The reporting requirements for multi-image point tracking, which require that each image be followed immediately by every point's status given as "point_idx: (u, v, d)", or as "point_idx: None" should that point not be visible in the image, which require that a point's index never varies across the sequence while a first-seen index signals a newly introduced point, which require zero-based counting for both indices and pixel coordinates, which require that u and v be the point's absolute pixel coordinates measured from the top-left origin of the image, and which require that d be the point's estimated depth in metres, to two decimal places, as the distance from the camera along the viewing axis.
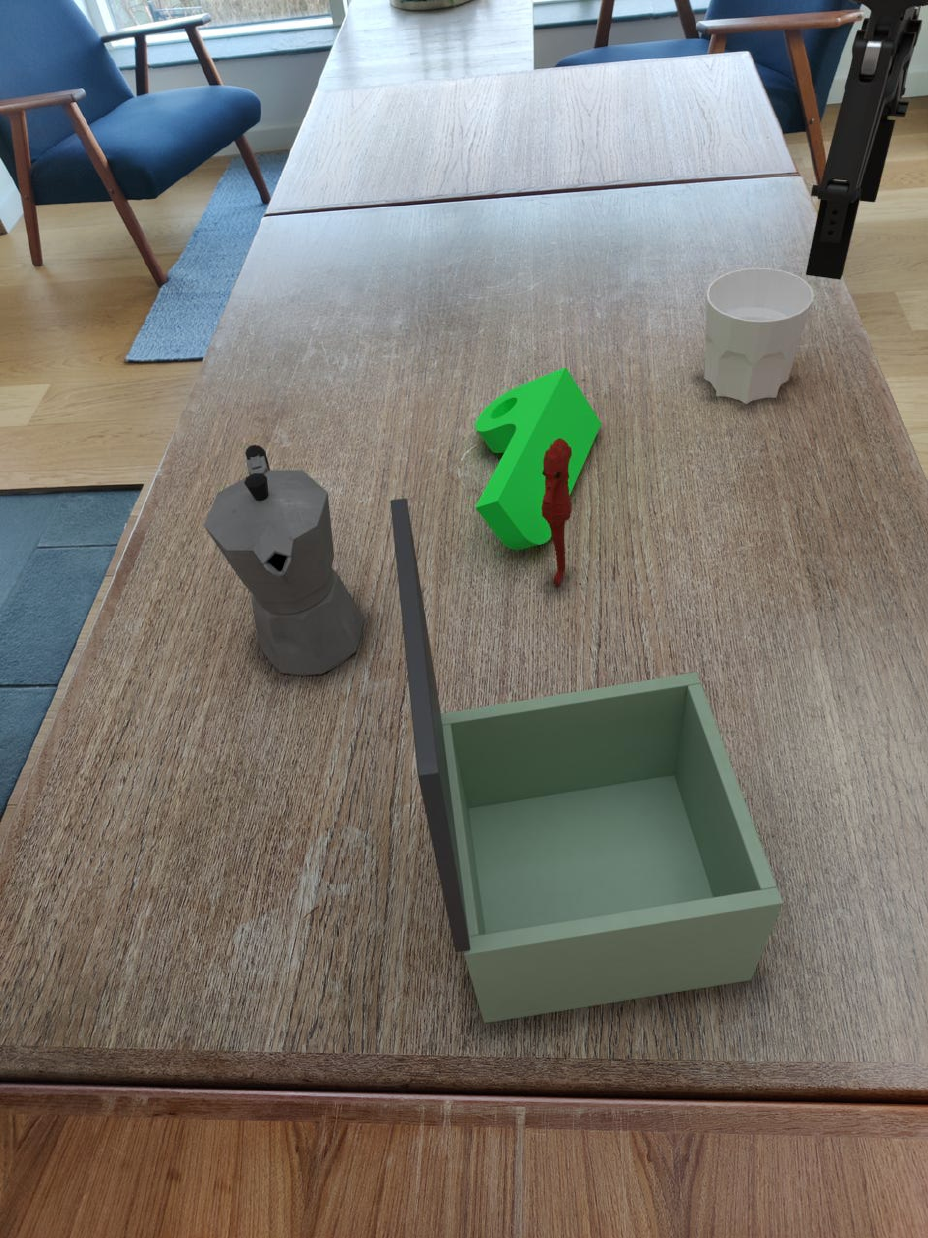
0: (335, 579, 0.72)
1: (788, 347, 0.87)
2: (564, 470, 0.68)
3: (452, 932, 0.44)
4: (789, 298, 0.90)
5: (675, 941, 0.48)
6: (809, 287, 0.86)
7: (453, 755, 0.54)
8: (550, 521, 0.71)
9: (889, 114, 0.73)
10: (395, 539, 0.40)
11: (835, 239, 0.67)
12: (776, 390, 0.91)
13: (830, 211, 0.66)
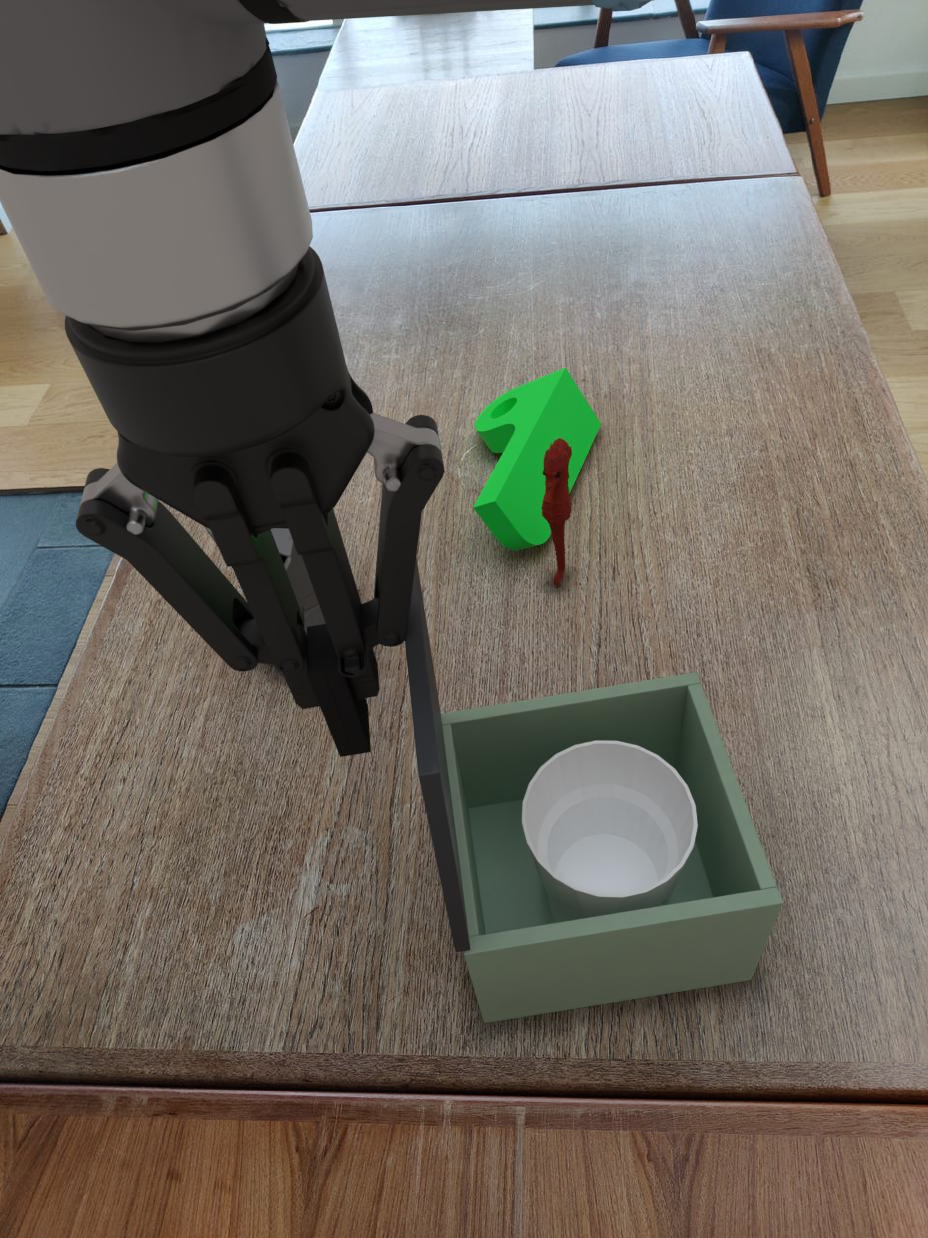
0: None
1: (656, 905, 0.51)
2: (564, 470, 0.68)
3: (452, 932, 0.44)
4: (666, 794, 0.54)
5: (675, 941, 0.48)
6: (692, 806, 0.51)
7: (453, 755, 0.54)
8: (550, 521, 0.71)
9: None
10: None
11: None
12: None
13: None
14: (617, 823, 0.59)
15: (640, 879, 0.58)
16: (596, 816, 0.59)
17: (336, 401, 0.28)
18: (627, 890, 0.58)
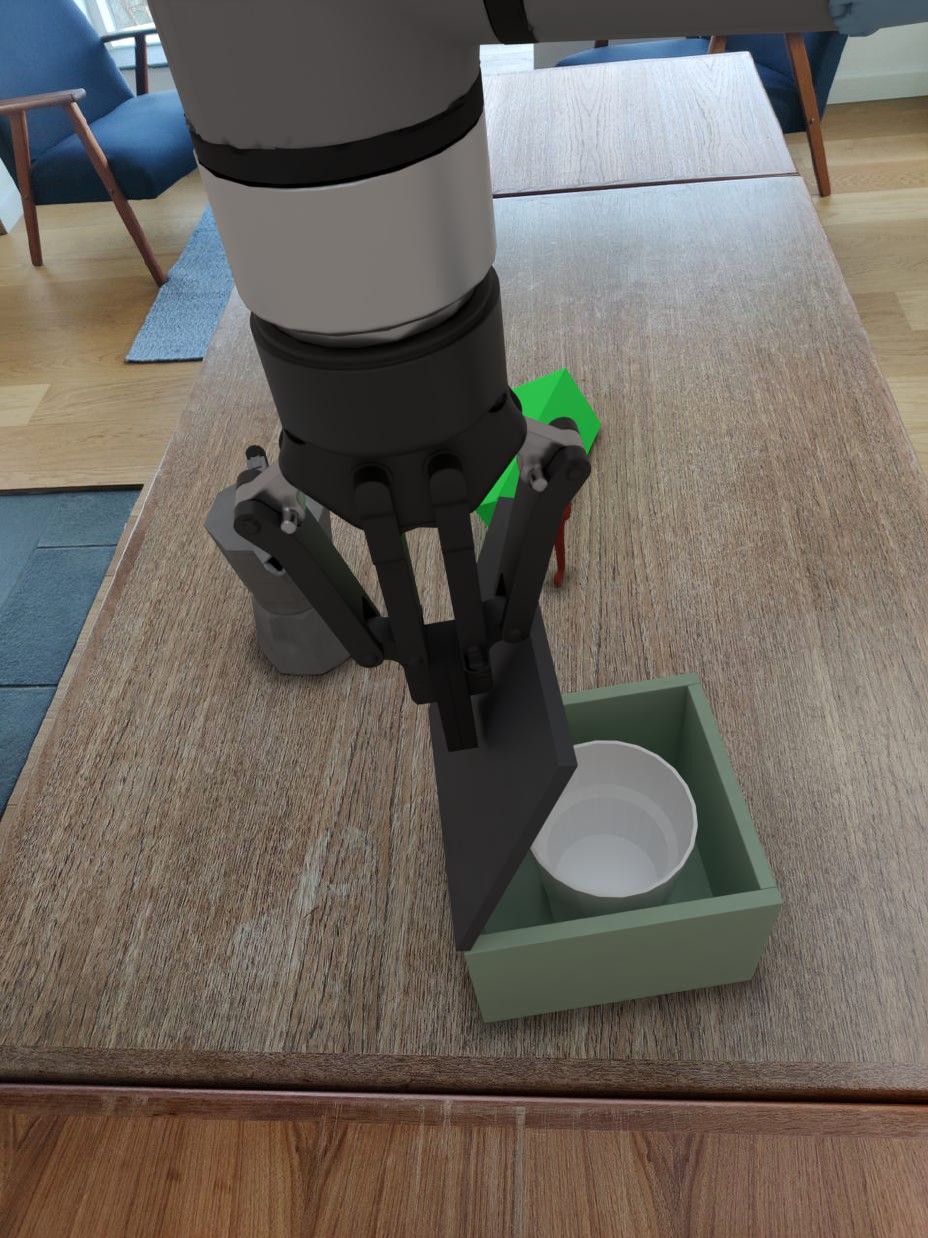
0: None
1: (656, 905, 0.51)
2: None
3: (468, 930, 0.44)
4: (666, 794, 0.54)
5: (675, 941, 0.48)
6: (692, 806, 0.51)
7: None
8: None
9: None
10: None
11: None
12: None
13: None
14: (617, 823, 0.59)
15: (640, 879, 0.58)
16: (596, 816, 0.59)
17: (497, 404, 0.29)
18: (627, 890, 0.58)
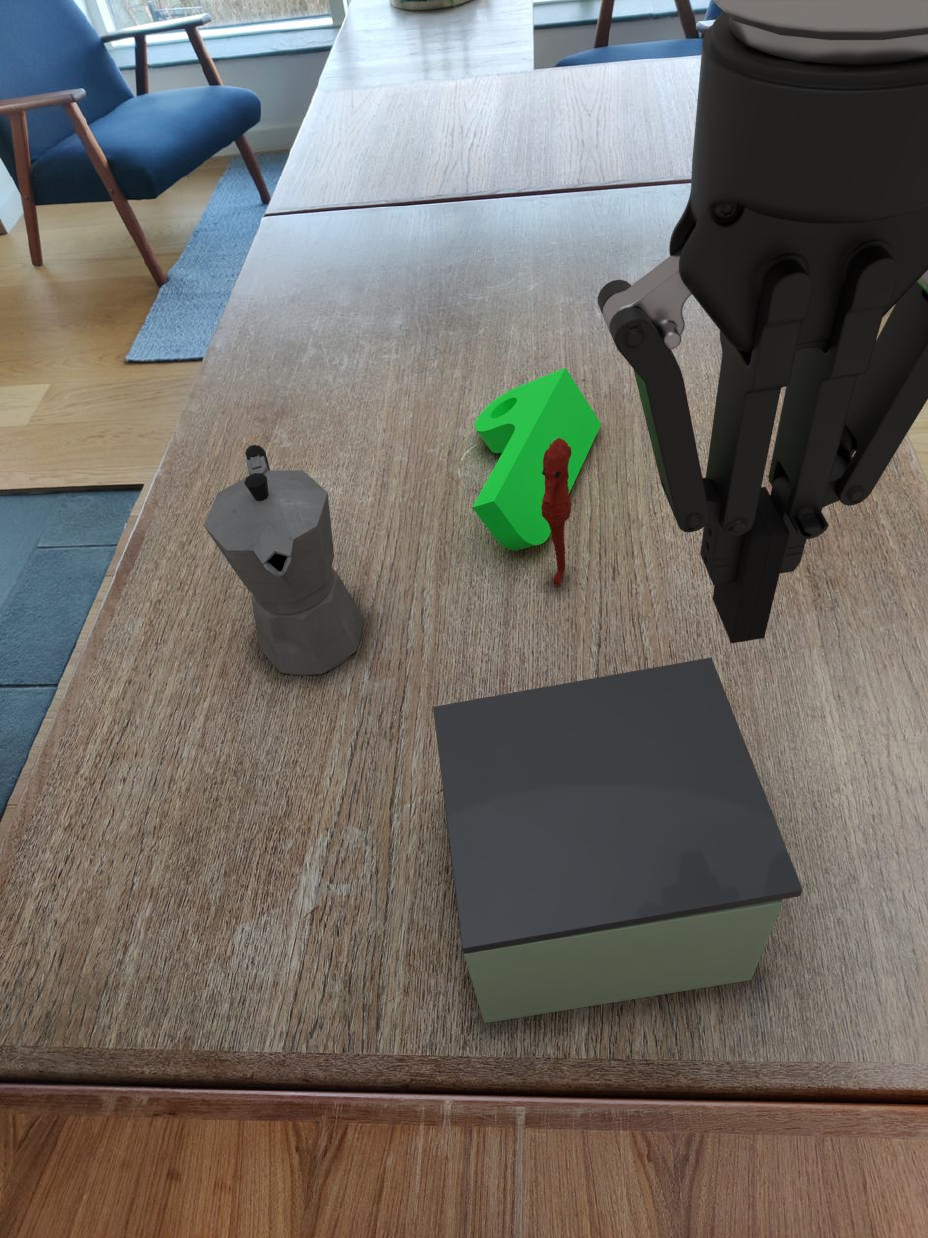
0: (335, 579, 0.72)
1: None
2: (564, 470, 0.68)
3: (513, 940, 0.45)
4: None
5: (675, 941, 0.48)
6: None
7: None
8: (550, 521, 0.71)
9: (786, 508, 0.34)
10: (725, 693, 0.53)
11: None
12: None
13: (706, 526, 0.36)
14: None
15: None
16: None
17: None
18: None
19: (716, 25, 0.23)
